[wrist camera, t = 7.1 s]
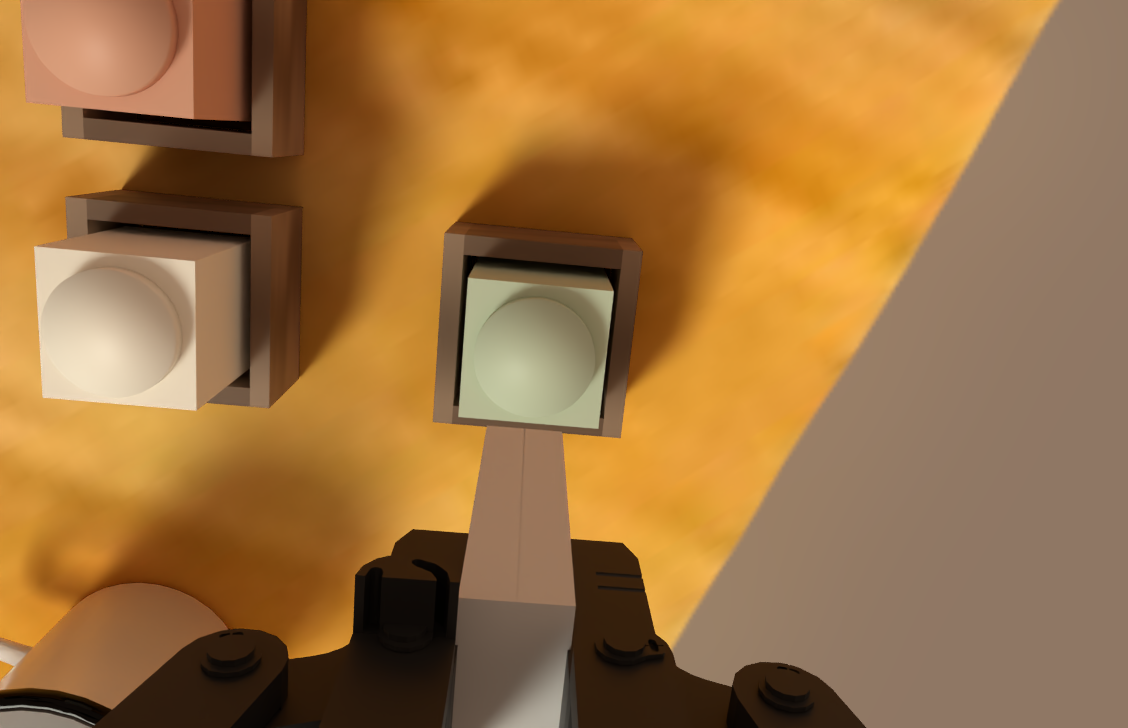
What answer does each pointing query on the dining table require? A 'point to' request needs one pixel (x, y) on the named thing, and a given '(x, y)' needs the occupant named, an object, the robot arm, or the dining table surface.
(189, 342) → the cap cream
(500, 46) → the dining table surface
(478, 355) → the cap sage
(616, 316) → the brown square tray
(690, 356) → the dining table surface
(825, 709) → the robot arm
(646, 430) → the dining table surface
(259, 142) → the collar brown
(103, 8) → the cap terracotta
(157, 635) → the mug
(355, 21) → the dining table surface
